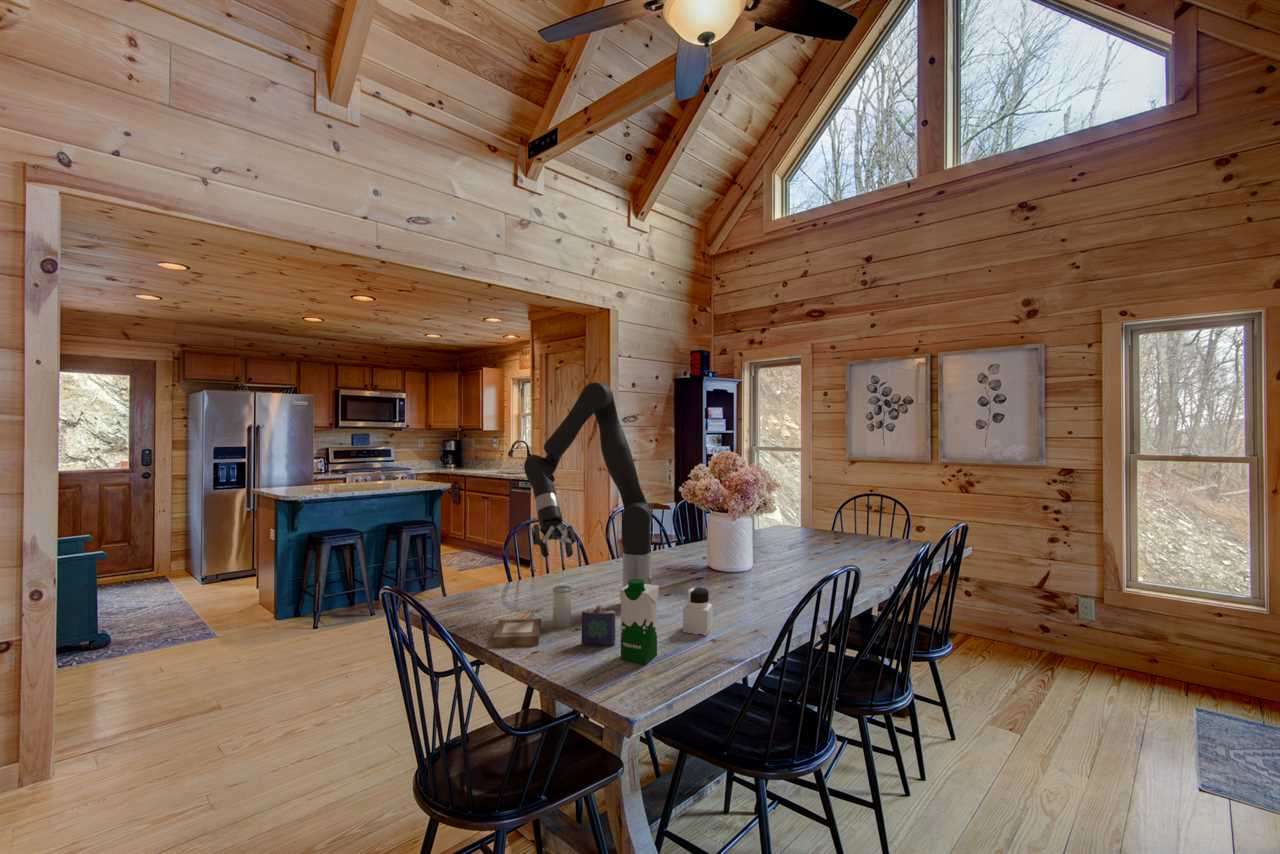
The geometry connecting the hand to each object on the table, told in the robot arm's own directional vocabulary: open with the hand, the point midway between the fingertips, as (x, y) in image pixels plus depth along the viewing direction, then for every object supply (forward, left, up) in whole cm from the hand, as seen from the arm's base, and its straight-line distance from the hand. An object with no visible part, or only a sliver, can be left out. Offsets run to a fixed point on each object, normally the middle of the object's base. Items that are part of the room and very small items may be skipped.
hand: (558, 556), depth 184 cm
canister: (-1, +11, -18) cm, 21 cm away
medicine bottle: (-40, +19, -18) cm, 48 cm away
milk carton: (-21, +37, -18) cm, 46 cm away
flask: (-11, +27, -18) cm, 34 cm away
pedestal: (+11, +19, -18) cm, 28 cm away
